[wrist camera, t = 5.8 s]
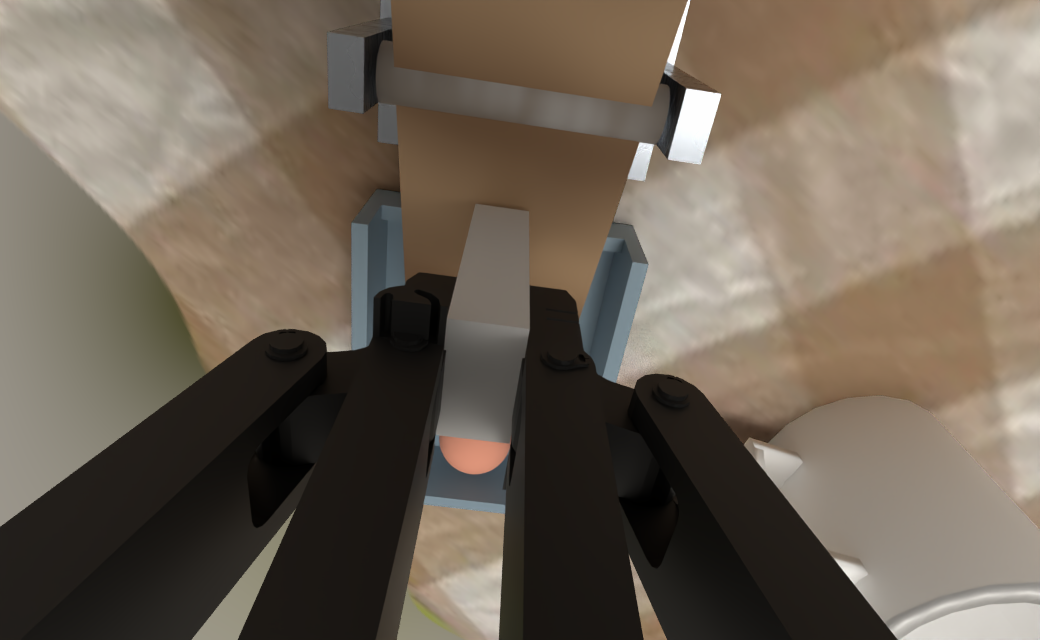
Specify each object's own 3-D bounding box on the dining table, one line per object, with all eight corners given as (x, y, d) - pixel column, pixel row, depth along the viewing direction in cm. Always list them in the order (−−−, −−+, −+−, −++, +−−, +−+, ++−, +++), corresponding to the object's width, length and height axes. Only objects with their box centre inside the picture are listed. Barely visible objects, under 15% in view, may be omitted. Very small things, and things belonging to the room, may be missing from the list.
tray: (376, 188, 25) (351, 222, 21) (632, 225, 25) (648, 264, 22) (371, 439, 32) (351, 496, 28) (572, 464, 32) (577, 522, 29)
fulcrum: (407, -61, 20) (314, -92, 12) (667, -17, 21) (764, -17, 12) (400, 117, 23) (322, 198, 15) (628, 152, 24) (682, 250, 15)
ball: (425, 449, 30) (430, 394, 28) (487, 434, 31) (495, 381, 30) (453, 498, 27) (460, 440, 26) (518, 478, 29) (529, 423, 27)
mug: (666, 492, 33) (717, 687, 24) (763, 350, 28) (875, 527, 19) (868, 550, 35) (986, 751, 26) (990, 428, 31) (1189, 621, 21)
